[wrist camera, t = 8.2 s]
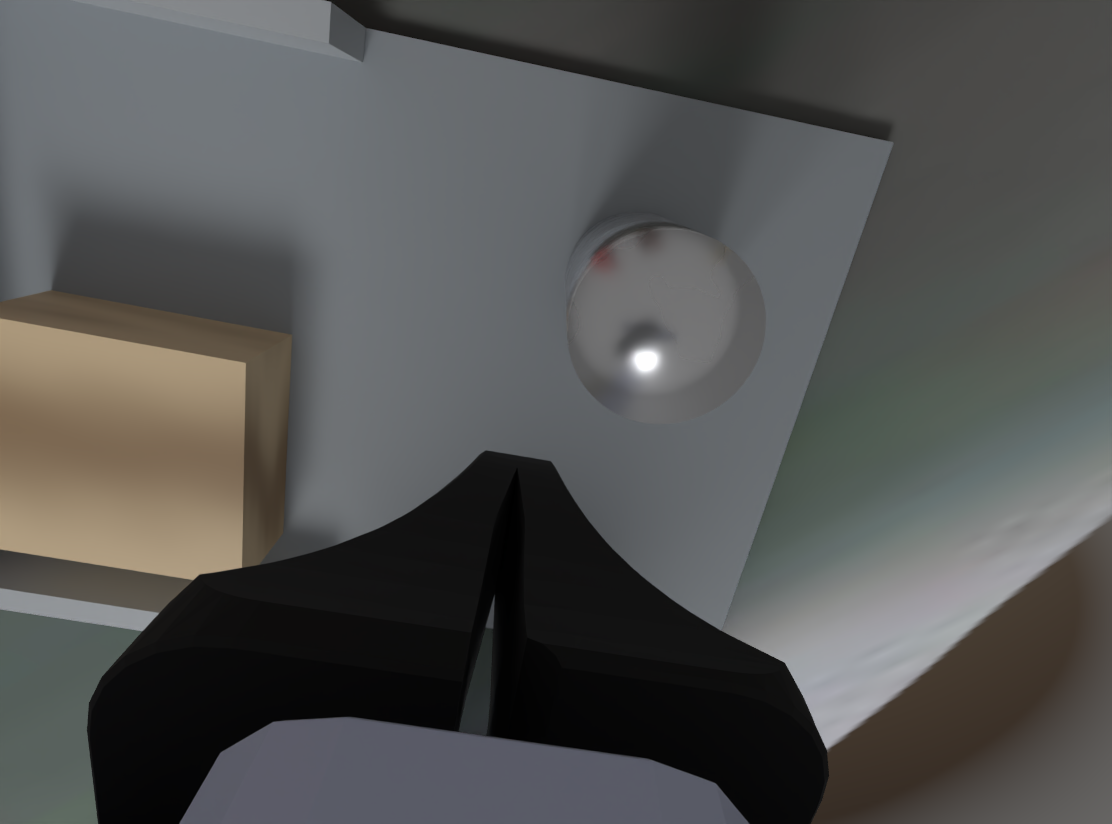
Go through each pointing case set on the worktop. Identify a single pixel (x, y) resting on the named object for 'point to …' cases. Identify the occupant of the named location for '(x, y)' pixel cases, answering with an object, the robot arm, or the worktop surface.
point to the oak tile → (140, 436)
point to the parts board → (410, 260)
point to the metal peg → (660, 318)
